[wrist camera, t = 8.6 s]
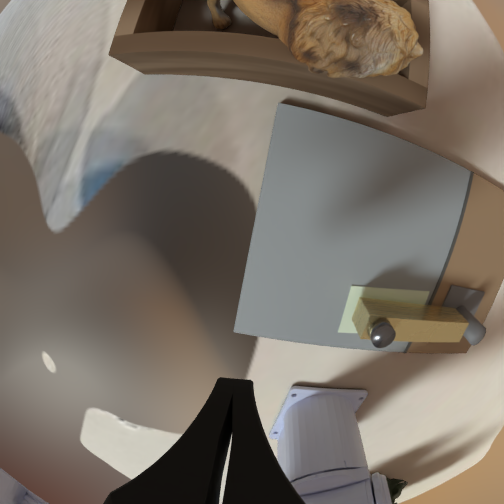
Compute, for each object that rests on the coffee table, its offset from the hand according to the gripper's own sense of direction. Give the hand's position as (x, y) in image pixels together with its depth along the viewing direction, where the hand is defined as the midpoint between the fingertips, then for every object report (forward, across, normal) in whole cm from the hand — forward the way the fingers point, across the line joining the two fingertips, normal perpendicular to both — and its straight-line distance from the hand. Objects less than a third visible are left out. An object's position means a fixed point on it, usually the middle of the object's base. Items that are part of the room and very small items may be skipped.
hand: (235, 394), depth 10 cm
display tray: (+10, -1, -18) cm, 20 cm away
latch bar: (+8, -12, +1) cm, 15 cm away
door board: (+10, -12, -3) cm, 16 cm away
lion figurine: (+10, -1, -18) cm, 21 cm away
